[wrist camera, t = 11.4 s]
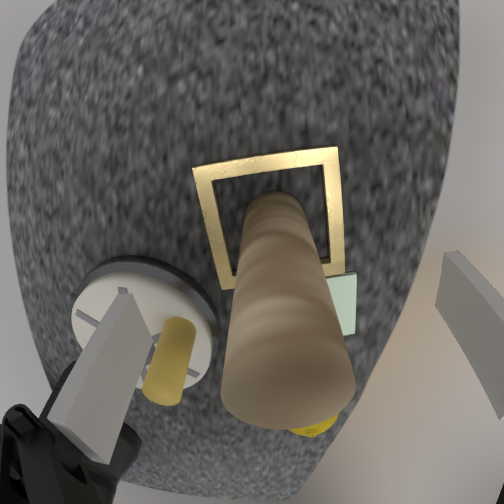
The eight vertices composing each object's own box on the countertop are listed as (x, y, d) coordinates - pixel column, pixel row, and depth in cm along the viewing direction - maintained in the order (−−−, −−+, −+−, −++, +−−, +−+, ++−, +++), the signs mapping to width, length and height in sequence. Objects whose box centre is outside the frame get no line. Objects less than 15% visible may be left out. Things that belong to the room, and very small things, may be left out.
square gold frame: (222, 283, 23) (221, 289, 22) (194, 165, 19) (192, 168, 18) (342, 267, 22) (344, 273, 22) (334, 145, 18) (337, 146, 18)
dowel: (250, 249, 22) (236, 432, 9) (239, 195, 20) (203, 360, 8) (307, 241, 21) (351, 420, 9) (300, 186, 20) (360, 341, 7)
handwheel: (137, 389, 28) (117, 449, 21) (56, 302, 23) (13, 359, 16) (239, 360, 25) (234, 436, 18) (153, 245, 20) (109, 314, 13)
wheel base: (116, 371, 29) (112, 379, 28) (60, 266, 23) (53, 273, 22) (234, 368, 27) (233, 378, 26) (198, 244, 22) (195, 252, 21)
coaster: (285, 340, 26) (285, 343, 25) (276, 282, 23) (277, 285, 23) (353, 330, 25) (354, 333, 25) (355, 271, 22) (356, 274, 22)
